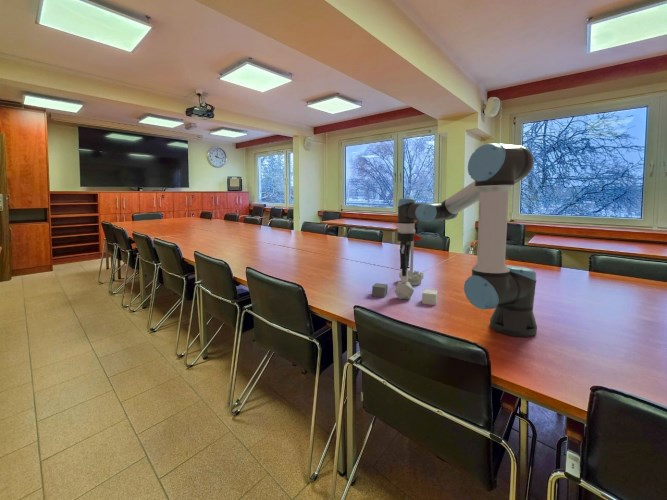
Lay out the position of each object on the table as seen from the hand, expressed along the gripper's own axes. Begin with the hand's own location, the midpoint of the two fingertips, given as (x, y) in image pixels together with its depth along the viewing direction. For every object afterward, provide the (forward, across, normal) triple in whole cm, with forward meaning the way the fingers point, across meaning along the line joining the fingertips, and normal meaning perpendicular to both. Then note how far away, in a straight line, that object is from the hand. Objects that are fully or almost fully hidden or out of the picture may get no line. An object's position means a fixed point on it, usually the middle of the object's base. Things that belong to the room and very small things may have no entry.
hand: (404, 282), depth 156 cm
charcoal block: (+8, -1, -12) cm, 15 cm away
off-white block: (+8, +1, +12) cm, 14 cm away
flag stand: (+8, -29, -2) cm, 30 cm away
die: (+8, 0, 0) cm, 8 cm away
